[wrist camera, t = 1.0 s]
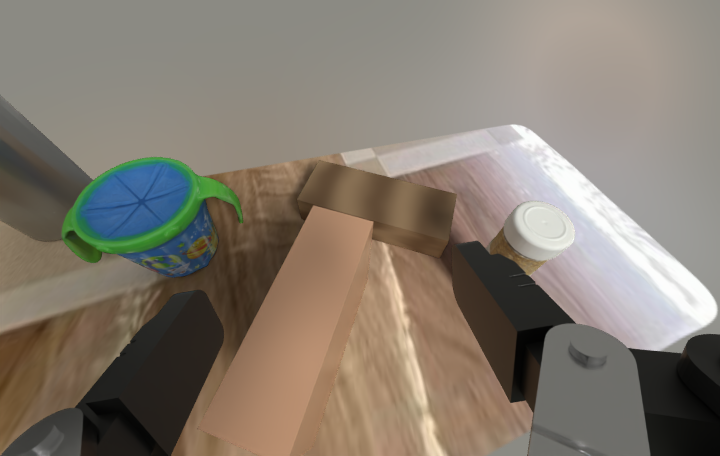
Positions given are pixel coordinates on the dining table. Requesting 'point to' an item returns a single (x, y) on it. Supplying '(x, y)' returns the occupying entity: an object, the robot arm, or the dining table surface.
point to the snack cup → (148, 216)
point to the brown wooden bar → (383, 206)
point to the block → (295, 341)
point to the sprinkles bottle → (533, 235)
